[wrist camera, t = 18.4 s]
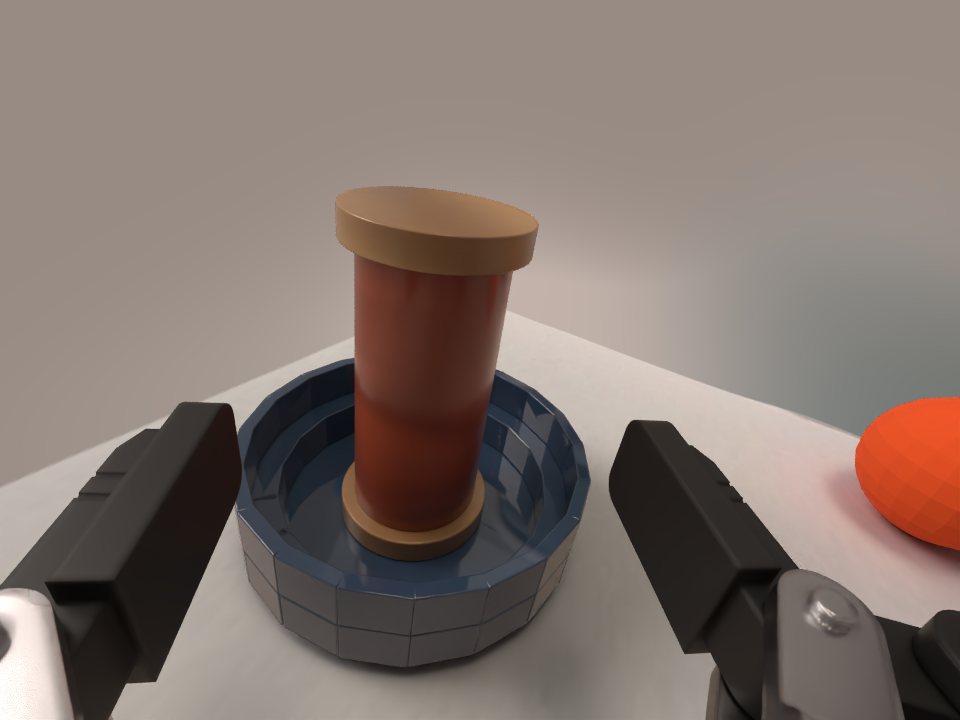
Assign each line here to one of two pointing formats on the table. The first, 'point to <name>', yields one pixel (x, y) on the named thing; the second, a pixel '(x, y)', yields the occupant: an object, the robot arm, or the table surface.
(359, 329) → the spool
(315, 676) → the table surface
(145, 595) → the robot arm
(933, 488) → the clementine
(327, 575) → the bowl
